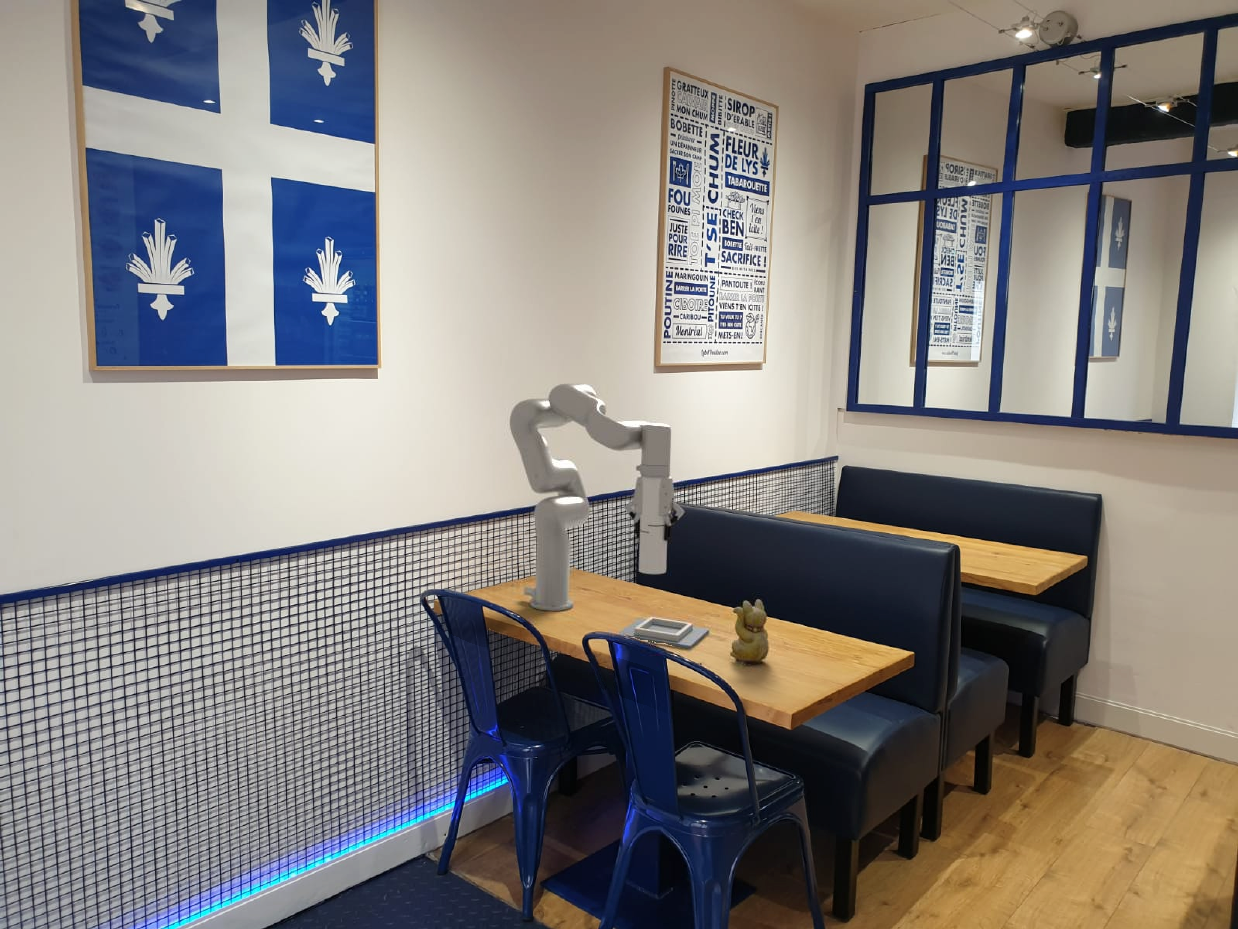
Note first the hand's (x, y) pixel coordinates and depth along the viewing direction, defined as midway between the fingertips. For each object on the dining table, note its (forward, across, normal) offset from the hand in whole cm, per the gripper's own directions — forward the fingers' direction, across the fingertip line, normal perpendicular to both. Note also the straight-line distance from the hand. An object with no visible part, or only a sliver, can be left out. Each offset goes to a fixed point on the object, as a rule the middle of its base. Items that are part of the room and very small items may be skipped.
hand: (653, 538), depth 246 cm
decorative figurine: (+26, +30, -9) cm, 41 cm away
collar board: (+25, +4, 0) cm, 26 cm away
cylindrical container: (+9, 0, 0) cm, 9 cm away
